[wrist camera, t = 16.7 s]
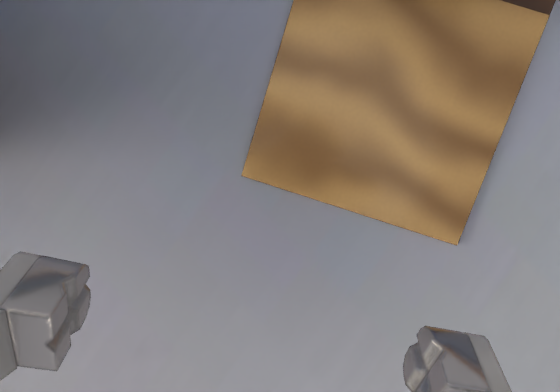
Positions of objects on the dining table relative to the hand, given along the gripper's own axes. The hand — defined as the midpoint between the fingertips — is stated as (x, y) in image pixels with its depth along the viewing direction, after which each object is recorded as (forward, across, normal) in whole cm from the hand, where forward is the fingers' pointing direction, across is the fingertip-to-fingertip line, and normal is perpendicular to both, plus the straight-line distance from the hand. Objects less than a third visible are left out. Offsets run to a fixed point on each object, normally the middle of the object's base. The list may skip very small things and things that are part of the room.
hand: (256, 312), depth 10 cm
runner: (+25, -8, +2) cm, 26 cm away
